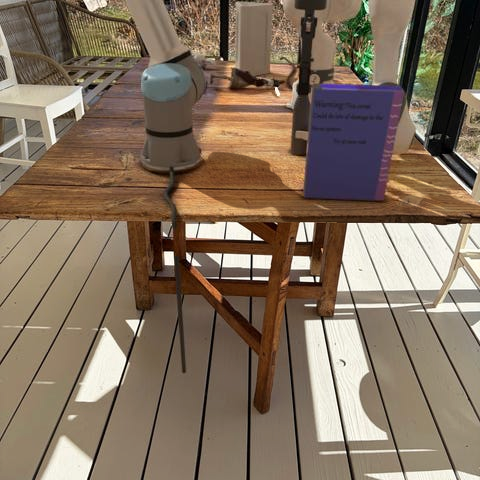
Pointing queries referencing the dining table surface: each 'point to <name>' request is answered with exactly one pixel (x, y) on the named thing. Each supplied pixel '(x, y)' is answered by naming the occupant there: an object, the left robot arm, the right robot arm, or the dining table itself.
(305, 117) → the bottle
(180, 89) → the left robot arm
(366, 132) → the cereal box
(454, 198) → the dining table surface
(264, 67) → the paper bag
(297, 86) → the cap
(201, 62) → the toy
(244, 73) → the figurine
